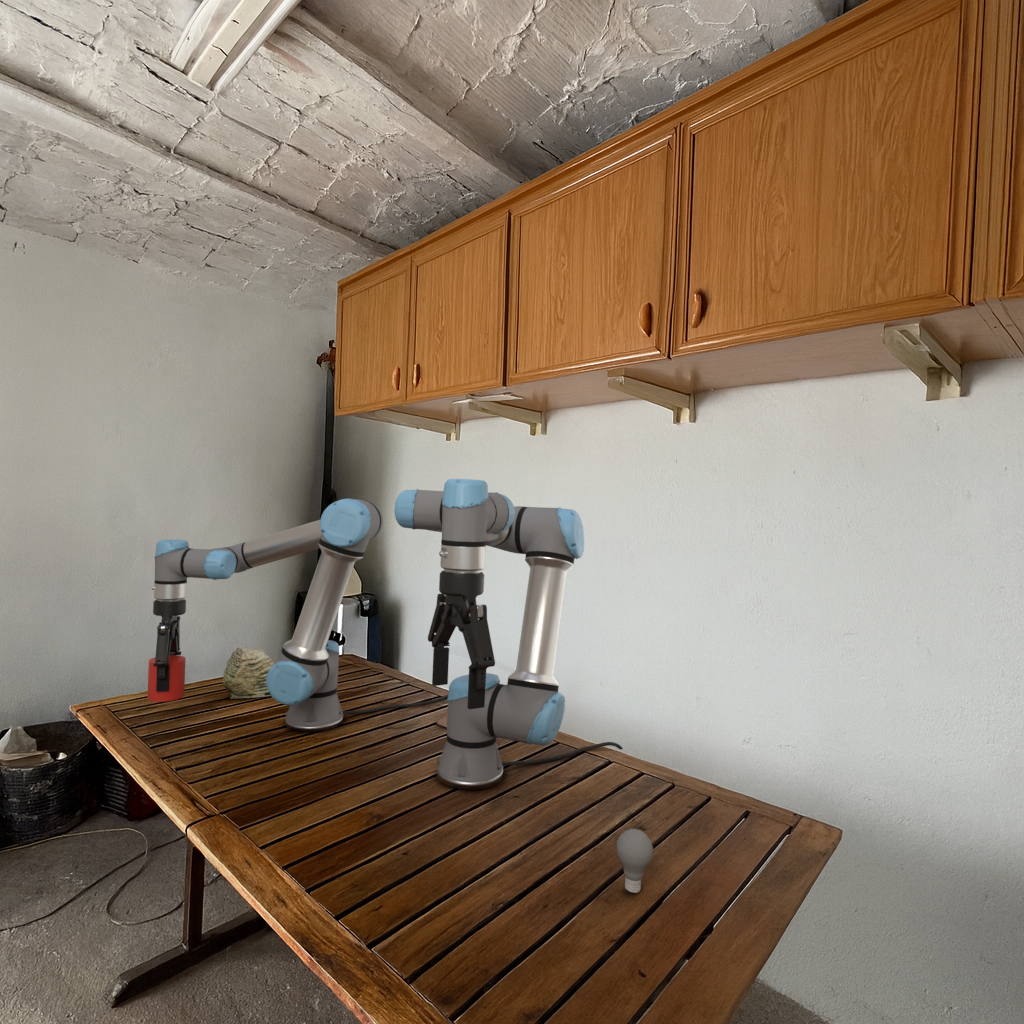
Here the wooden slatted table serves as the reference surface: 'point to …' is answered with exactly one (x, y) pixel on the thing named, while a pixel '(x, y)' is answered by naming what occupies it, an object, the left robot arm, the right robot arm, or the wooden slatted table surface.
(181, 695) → the can
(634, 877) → the light bulb
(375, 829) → the wooden slatted table surface
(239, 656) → the fossil
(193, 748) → the wooden slatted table surface
